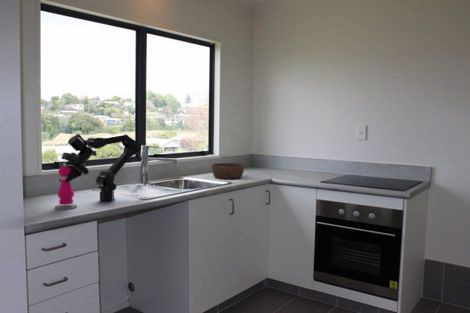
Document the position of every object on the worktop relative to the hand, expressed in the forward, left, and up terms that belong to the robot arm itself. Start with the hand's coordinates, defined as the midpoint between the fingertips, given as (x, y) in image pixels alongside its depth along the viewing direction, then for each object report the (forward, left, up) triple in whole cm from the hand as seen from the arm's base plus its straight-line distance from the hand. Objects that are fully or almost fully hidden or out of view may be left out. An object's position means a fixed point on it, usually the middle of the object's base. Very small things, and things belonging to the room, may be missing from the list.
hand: (62, 181), depth 200 cm
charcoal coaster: (-1, -1, -13) cm, 13 cm away
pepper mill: (-1, -1, -11) cm, 11 cm away
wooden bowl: (-71, -120, -14) cm, 140 cm away
